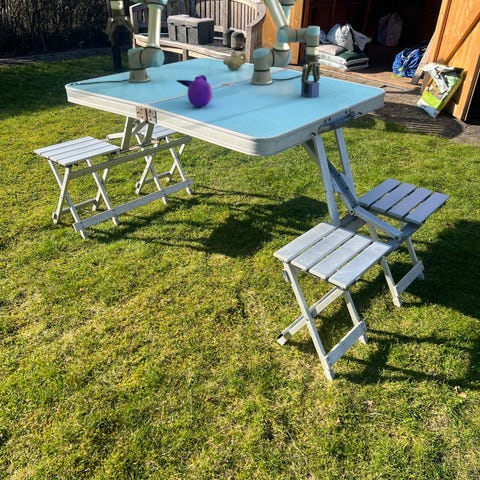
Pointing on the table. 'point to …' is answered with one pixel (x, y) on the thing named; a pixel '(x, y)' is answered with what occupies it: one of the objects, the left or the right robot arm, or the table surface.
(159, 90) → the table surface
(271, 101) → the table surface
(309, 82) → the brick
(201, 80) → the toy
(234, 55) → the teapot
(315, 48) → the right robot arm
